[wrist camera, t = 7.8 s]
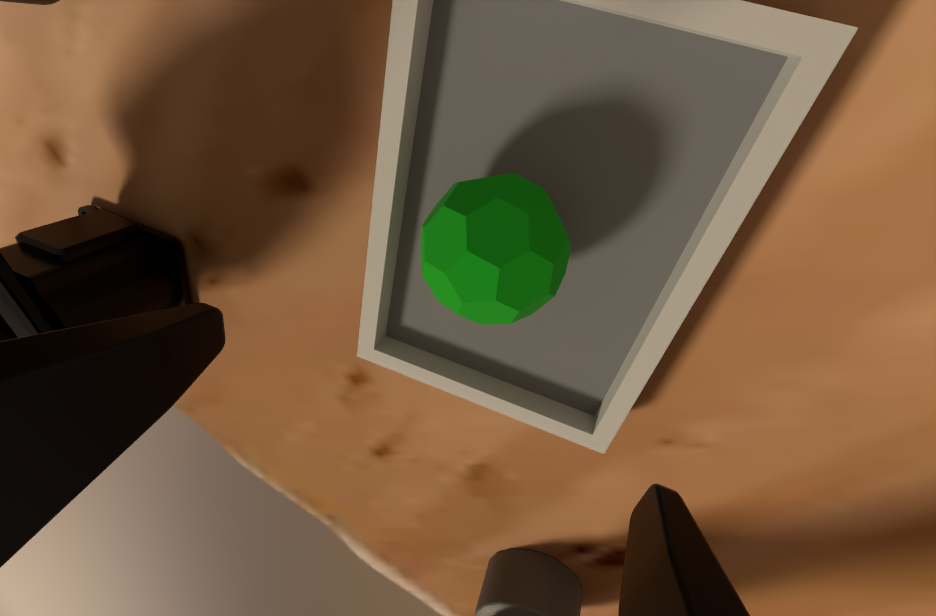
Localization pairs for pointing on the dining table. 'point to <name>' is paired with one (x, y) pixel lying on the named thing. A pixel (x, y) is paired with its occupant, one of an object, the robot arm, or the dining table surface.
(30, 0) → the leaning round-cornered charcoal block
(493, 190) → the polyhedron
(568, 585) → the candle holder
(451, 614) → the dining table surface
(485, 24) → the tray
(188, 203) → the dining table surface
